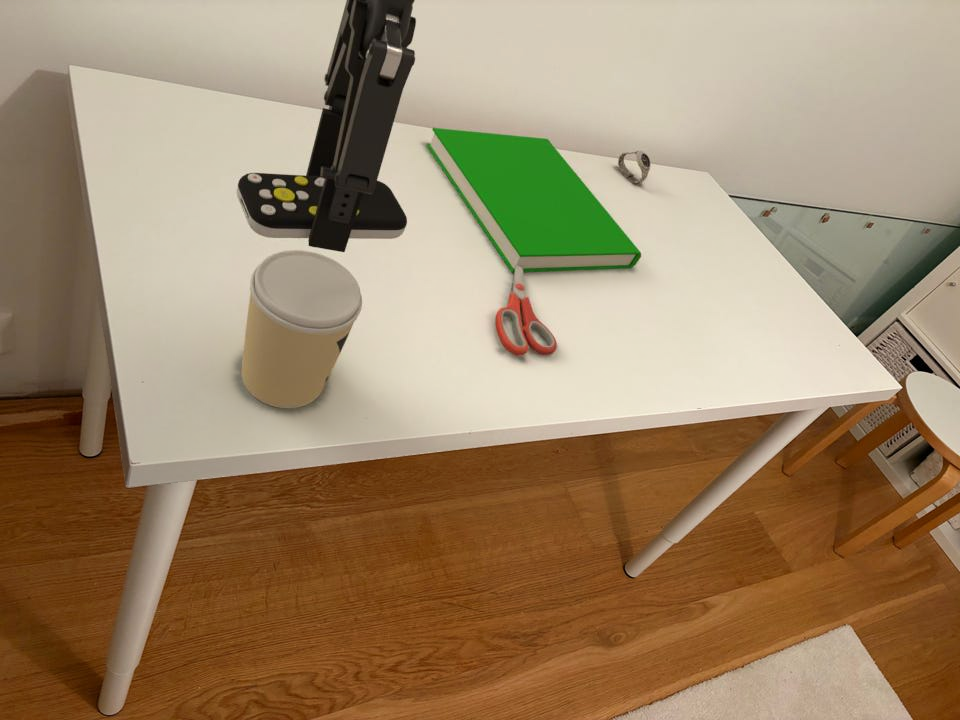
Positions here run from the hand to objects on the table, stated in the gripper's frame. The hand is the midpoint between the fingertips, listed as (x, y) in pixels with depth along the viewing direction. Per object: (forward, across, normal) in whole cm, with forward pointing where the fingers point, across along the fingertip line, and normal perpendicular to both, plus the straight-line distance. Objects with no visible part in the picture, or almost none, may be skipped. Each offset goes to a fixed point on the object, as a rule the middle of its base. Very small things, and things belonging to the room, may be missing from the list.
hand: (324, 213), depth 57 cm
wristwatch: (+19, +54, -61) cm, 83 cm away
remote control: (+1, 0, 0) cm, 1 cm away
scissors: (+18, +16, -28) cm, 37 cm away
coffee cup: (+19, -1, 0) cm, 19 cm away
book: (+19, +37, -36) cm, 55 cm away
